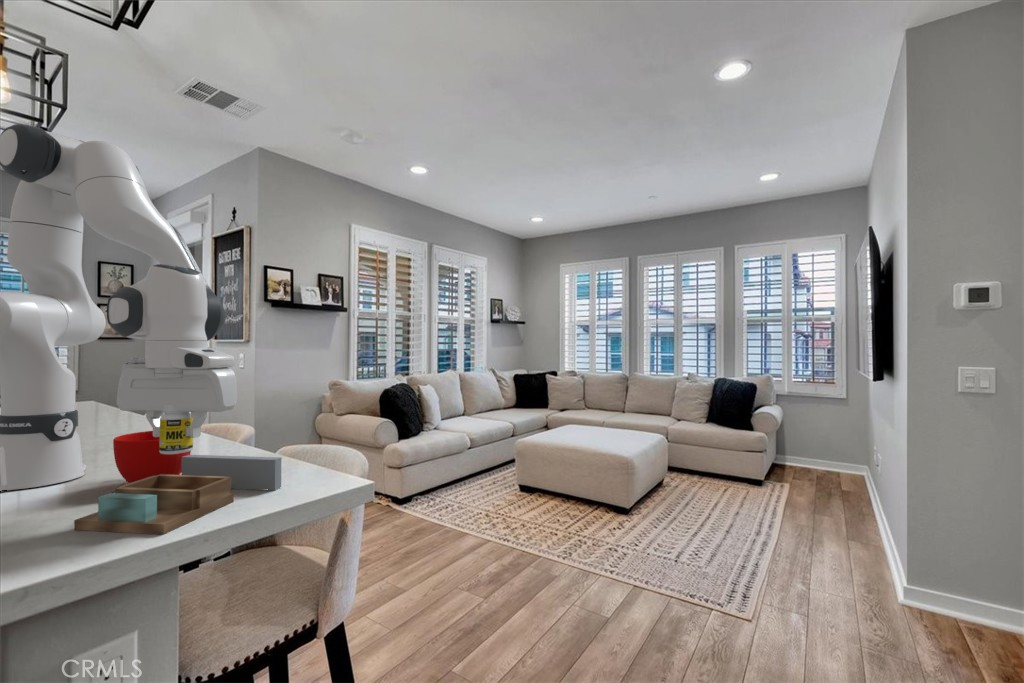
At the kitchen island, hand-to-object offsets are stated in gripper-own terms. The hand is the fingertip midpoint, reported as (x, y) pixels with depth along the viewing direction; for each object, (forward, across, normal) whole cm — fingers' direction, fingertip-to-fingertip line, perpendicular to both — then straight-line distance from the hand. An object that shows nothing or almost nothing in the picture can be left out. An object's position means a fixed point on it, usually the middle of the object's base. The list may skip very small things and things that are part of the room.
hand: (176, 436), depth 82 cm
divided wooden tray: (+12, 0, -3) cm, 13 cm away
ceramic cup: (+13, -18, +14) cm, 26 cm away
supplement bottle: (+3, 0, 0) cm, 3 cm away
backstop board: (+12, +1, +12) cm, 18 cm away
